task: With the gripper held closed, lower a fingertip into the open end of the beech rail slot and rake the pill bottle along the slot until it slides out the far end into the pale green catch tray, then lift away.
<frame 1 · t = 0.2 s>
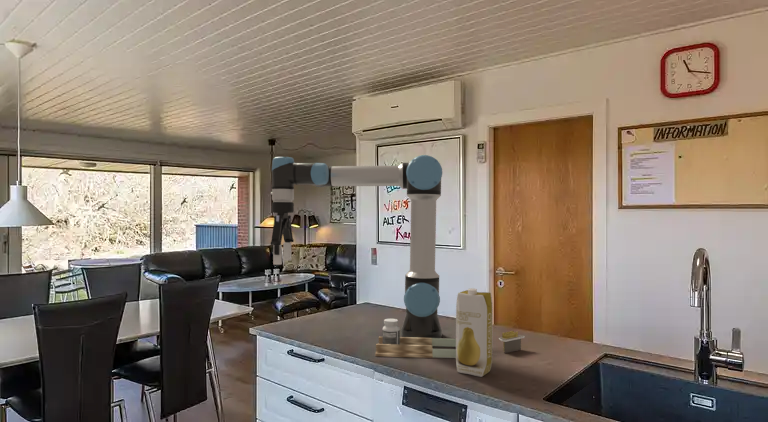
hand: (282, 262, 173), 28 cm above the worktop, fingers open, 13 cm apart
juice carton: (473, 372, 142), on the worktop
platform: (510, 352, 164), on the worktop
pill bottle: (391, 350, 164), on the worktop
catch tray: (453, 351, 162), on the worktop
slot rails: (404, 350, 163), on the worktop
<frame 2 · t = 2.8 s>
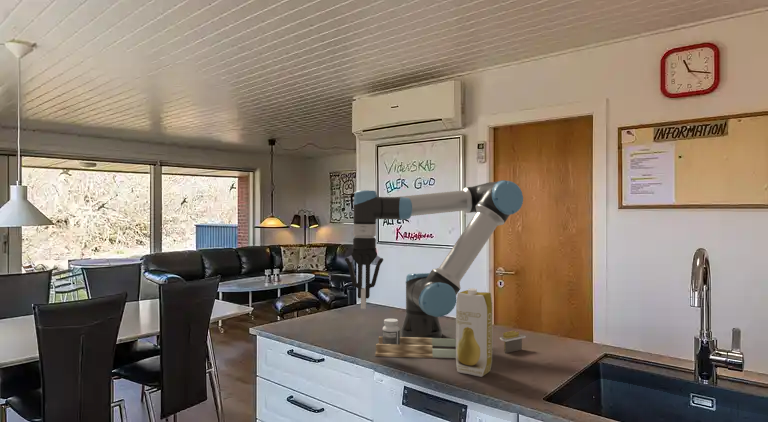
hand: (363, 308, 164), 14 cm above the worktop, fingers closed
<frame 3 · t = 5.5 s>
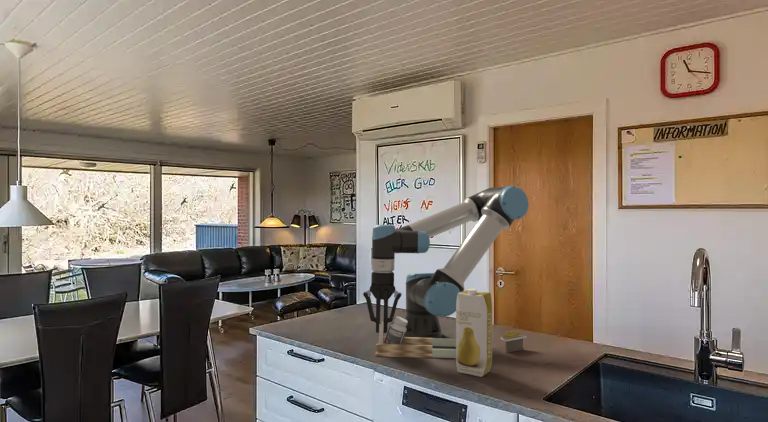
hand: (381, 342, 164), 2 cm above the worktop, fingers closed
pill bottle: (391, 347, 164), point 1 cm above the worktop, touching gripper
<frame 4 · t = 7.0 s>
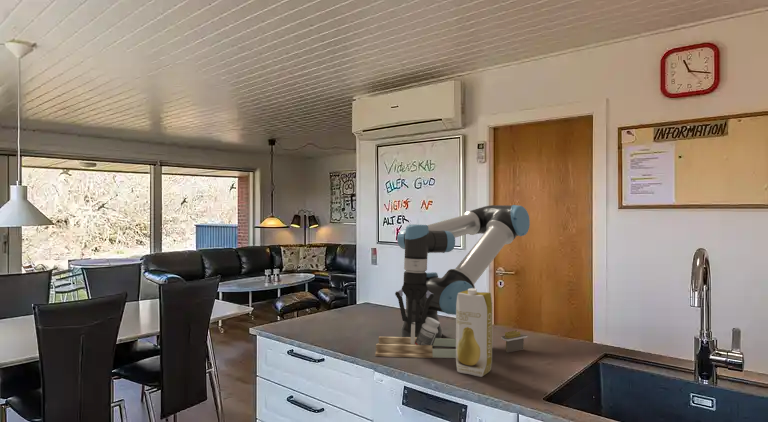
hand: (412, 343, 163), 3 cm above the worktop, fingers closed
pill bottle: (421, 348, 162), point 1 cm above the worktop, touching gripper
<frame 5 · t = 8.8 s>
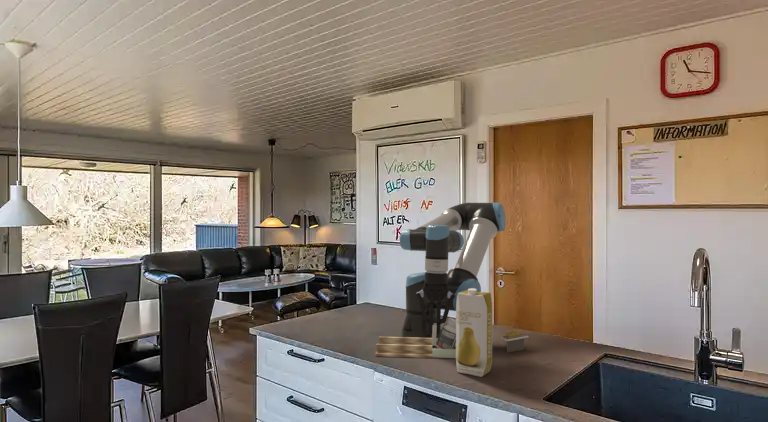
hand: (433, 344, 162), 2 cm above the worktop, fingers closed
pill bottle: (443, 349, 162), point 1 cm above the worktop, touching gripper
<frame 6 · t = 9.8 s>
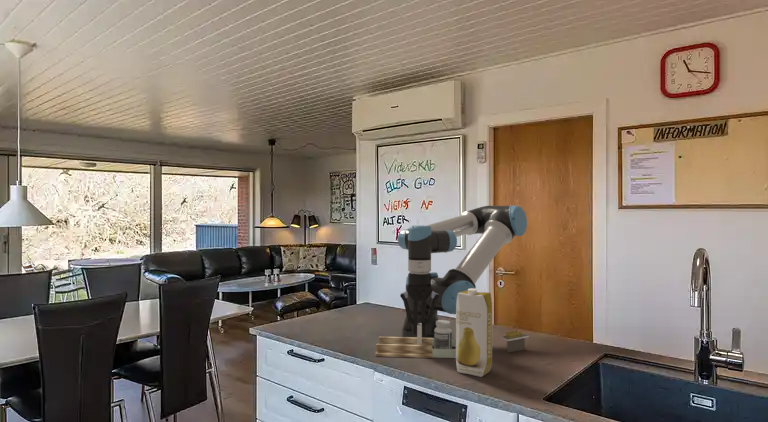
hand: (419, 343, 163), 2 cm above the worktop, fingers closed
pill bottle: (442, 352, 162), on the worktop
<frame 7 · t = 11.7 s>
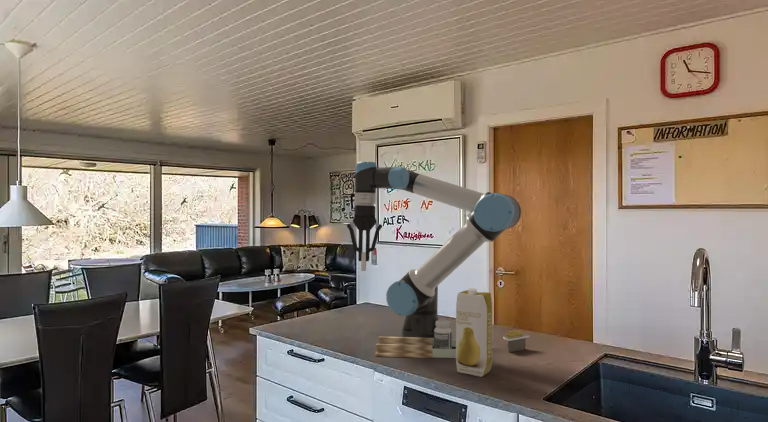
hand: (363, 270, 178), 24 cm above the worktop, fingers closed
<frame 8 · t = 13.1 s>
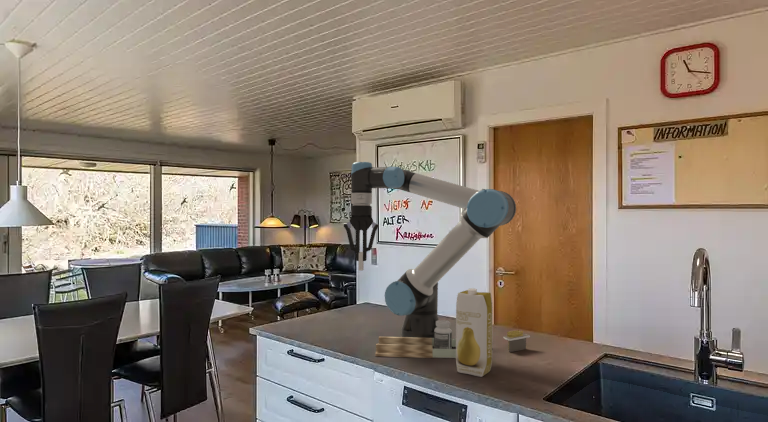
hand: (361, 270, 179), 24 cm above the worktop, fingers closed
at the end: pill bottle inside the target area (3.8 cm from its centre), on the worktop; pill bottle tilted 0°; pill bottle touching worktop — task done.
